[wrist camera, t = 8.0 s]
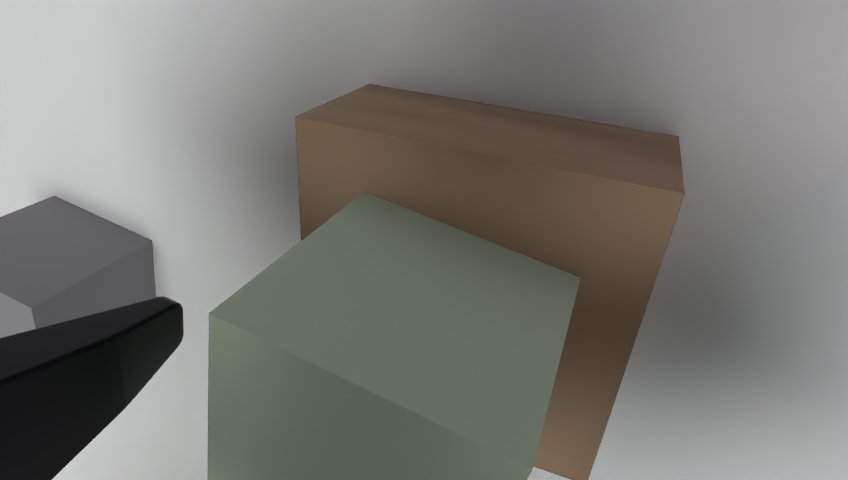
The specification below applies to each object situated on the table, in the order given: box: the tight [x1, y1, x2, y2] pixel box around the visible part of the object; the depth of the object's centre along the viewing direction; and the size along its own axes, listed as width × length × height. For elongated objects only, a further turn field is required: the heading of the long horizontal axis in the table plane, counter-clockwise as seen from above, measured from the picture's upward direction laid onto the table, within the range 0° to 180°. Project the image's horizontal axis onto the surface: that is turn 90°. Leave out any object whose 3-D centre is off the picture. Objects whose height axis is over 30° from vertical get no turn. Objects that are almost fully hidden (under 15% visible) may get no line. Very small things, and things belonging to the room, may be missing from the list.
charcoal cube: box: [0, 196, 156, 338], centre depth 21 cm, size 5×5×5 cm
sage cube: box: [208, 192, 580, 480], centre depth 11 cm, size 5×5×5 cm
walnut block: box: [295, 84, 685, 480], centre depth 14 cm, size 8×8×4 cm
